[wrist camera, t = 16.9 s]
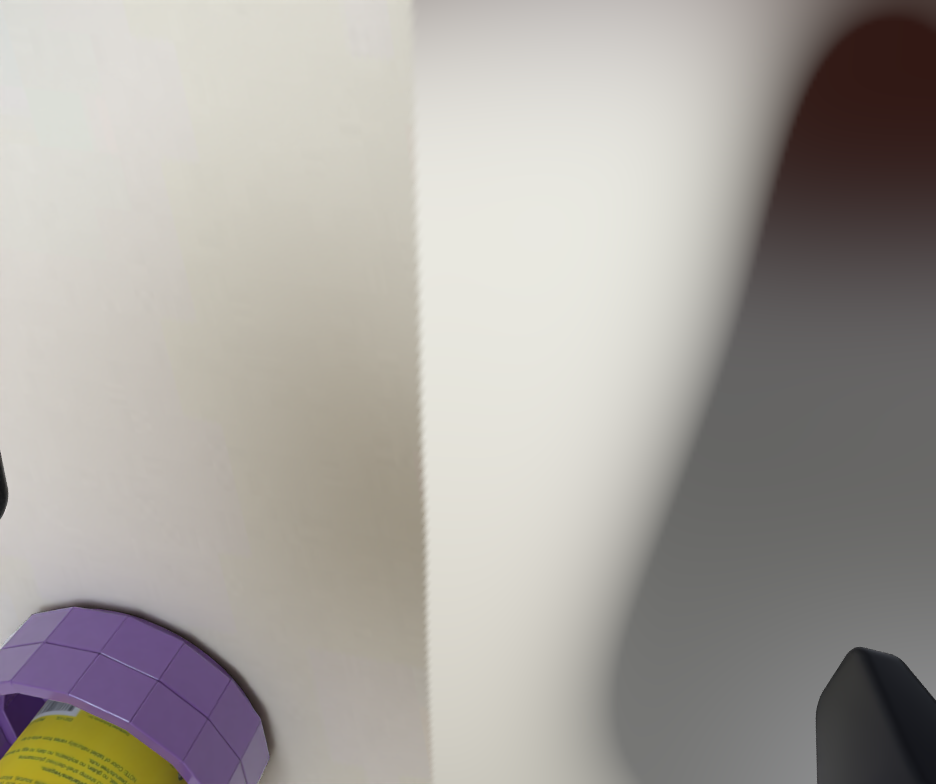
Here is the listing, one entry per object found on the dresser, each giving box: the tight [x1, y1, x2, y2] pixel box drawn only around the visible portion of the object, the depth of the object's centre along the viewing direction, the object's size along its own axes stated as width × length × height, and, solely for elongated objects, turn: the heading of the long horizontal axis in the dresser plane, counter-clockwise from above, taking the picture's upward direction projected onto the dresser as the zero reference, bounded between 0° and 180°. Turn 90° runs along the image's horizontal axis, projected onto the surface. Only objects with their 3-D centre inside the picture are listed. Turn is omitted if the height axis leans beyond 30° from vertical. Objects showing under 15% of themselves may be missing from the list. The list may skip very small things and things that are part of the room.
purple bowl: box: [0, 606, 270, 784], centre depth 32 cm, size 11×11×4 cm
